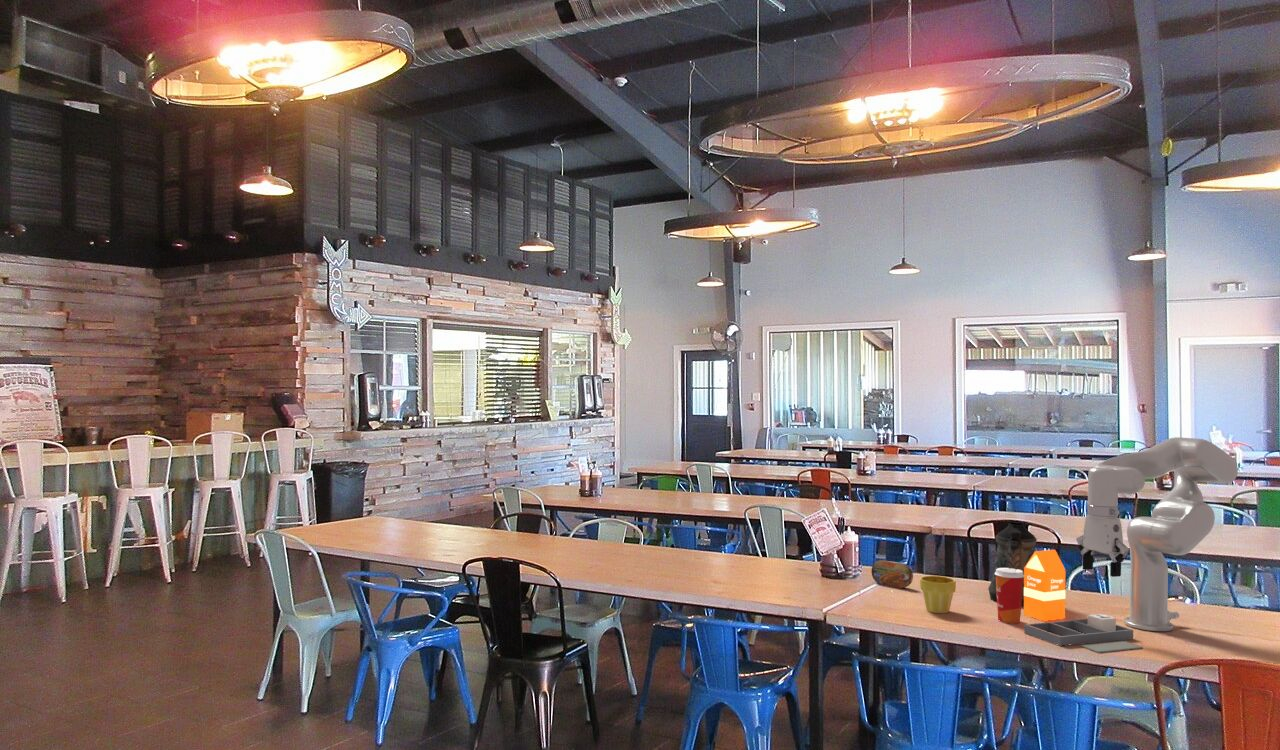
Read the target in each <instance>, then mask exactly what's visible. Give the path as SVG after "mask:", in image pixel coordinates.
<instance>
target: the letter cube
mask: <svg viewBox="0 0 1280 750" xmlns="http://www.w3.org/2000/svg"><path fill="white" fill-rule="evenodd" d="M1087 619H1088V621H1087V625H1089V626H1092V627H1095V628H1099V629H1102V630H1105V631H1108V632H1110V631H1116V625H1117V624H1116V623H1117V619H1116V617H1113V616H1111V615H1108V614H1103V613H1095V614H1094V613H1093V614H1088V615H1087Z"/></svg>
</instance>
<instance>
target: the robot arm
mask: <svg viewBox="0 0 1280 750" xmlns="http://www.w3.org/2000/svg"><path fill="white" fill-rule="evenodd" d="M1172 471H1173V472H1174V475H1173V476H1174V478H1173V481H1174V482H1173V483H1174V484H1173V488H1172V489H1171V490H1170V491H1169V492H1168V493H1167V494H1166V495H1165V496H1164V497H1163V498H1162V499H1160V501H1158V503H1157V504H1156V505H1155V506H1154V508H1153V509H1152V511H1151V516H1138V517H1134V518H1133V519H1132V520H1130V521H1129V523H1128V525H1127V528H1126V537H1127V542H1128V545H1129V547H1128V546H1127V545H1126V544H1125V543H1124V542H1123V541H1124V540H1123V539H1124V537H1123V528H1122V523H1121V519H1120V518H1119V517H1118V515H1120V510H1118V506H1119V505H1118V504H1119V503H1118V502H1119V501H1118V499H1119V494H1125V495H1134V494H1137V493H1140V491H1142V490H1143V488H1144V486H1145V484H1146V480H1149V479H1151V480H1152V479H1157V478H1161V477H1163V476H1165V475H1167V474H1169V473H1170V472H1172ZM1238 471H1239V469H1238V464H1237V462H1236V460H1235V459H1234V458H1233V457H1232V456H1231V455H1230V454H1229V453H1227V452H1225V451H1224V450H1223V449H1221V447H1219V446H1218V445H1216V444H1214V443H1212V442H1211V441H1209V440H1207V439H1203V438H1191V437H1190V438H1189V437H1179V436H1178V437H1170V438H1167V439H1165V440H1163V441H1161V442H1159V443H1157V444H1155V445H1153V446H1151V447H1149V448H1148V449H1145V450H1142V451H1135V452H1131V453H1127V454H1123V455H1117V456H1113V457H1110V458H1108V459H1106V460H1104V461H1102V462H1099V463H1098V464H1096V465H1095V466H1094V467H1091V468H1090V469H1089V470H1088V475H1087V480H1088V481H1087V514H1086V516H1085V520H1084V524H1083V525H1084V526H1083V534H1082V535H1080V536H1078V537H1076V539H1075V540H1076V543H1077V545H1078V549H1079V550H1080V555H1082V570H1085V571H1087V570H1088V571H1089V570H1093V569H1094V555H1093V553H1094V552H1095V553H1100V554H1104V555H1105V554H1106V555H1109V556H1108V557H1110V560H1111V561H1110V566H1109V567H1110V569H1109V570H1110V573H1109V575H1110V577H1112V578H1114V577H1115V578H1116V577H1121V576H1122V563H1124V561H1125V559H1126V558H1127V557H1128V556H1127V555H1128V553H1129V555H1130V556H1129V557H1130V577H1129V578H1130V585H1129V586H1130V589H1129V590H1130V593H1129V594H1130V595H1129V598H1130V600H1129V601H1130V602H1129V616H1128V617H1127V616H1126V617H1125V618H1124V619H1123V623H1124V624H1125V625H1126V626H1128V627H1131V628H1134V629H1137V630H1143V631H1144V630H1145V631H1150V632H1170V631H1172V630H1174V628H1175V627H1174V624H1173V623H1172V622H1171V619H1179V618H1180V613H1178V611H1171V612H1170V610H1169V609H1168V608H1169V607H1168V603H1169V601H1168V600H1169V598H1168V597H1169V595H1168V593H1169V590H1168V589H1169V583H1168V582H1169V580H1168V579H1169V578H1168V577H1169V568H1168V563H1167V560H1166V558H1165V556H1164V555H1163V554H1169V555H1174V556H1184V555H1187V554H1189V553H1190V552H1192V551H1193V550H1194V549H1195V548H1196V547H1197V546H1198V545H1199V544H1200V543H1201V542H1202V541H1203V540H1204V539H1205V538H1206V537H1207V535H1209V534H1210V533H1211V531H1212V529H1213V528H1214V525H1215V519H1216V518H1215V512H1214V510H1213V508H1212V507H1211V506H1210V505H1209V504H1208V503H1206V502H1204V496H1203V493H1202V491H1201V490H1200V488H1199V486H1198V483H1209V484H1217V485H1218V484H1219V485H1227V484H1228V485H1229V484H1232V483H1233V482H1234V481H1235V480H1236V478H1237V476H1238V473H1239V472H1238Z"/></svg>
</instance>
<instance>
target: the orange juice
mask: <svg viewBox="0 0 1280 750" xmlns="http://www.w3.org/2000/svg"><path fill="white" fill-rule="evenodd" d="M1024 576H1025V577H1024V606H1023V616H1024V615H1026V616H1025V617H1027V616H1029V617H1028V618H1031V617H1033V618H1032V619H1034V618H1036V619H1035V620H1038V619H1039V620H1038V621H1041V620H1043V621H1042V622H1049V621H1048V620H1051V621H1057V620H1056V619H1059V620H1064V619H1063V618H1065V619H1066V568H1065V567H1064V564H1063V563H1062V561H1061V559H1060V556H1059V555H1058V552H1057V551H1056V549H1049V550H1048V549H1046V550H1035V553H1034V554H1033V556H1032V557H1031V559H1030V560H1029V562H1028V563H1027V565H1026V566H1025V567H1024Z"/></svg>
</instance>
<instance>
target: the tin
mask: <svg viewBox="0 0 1280 750" xmlns="http://www.w3.org/2000/svg"><path fill="white" fill-rule="evenodd" d="M870 572H871V575H872V578H873V580H874V581H875V582H876V584H879V585H880V586H881V585H882V586H887V587H890V588H891V587H892V588H897V589H903V588H907V587H909V586H910V585H911V584H912V583H913V581H914V580H913V578H914V573H913V570H912V568H911V567H910V565H908V564H906V563H903V562H899V561H898V562H897V561H892V560H891V561H889V560H884V559H883V560H881V559H880V560H877V561H875V562H874V563H873V565H872V566H871V571H870Z"/></svg>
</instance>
